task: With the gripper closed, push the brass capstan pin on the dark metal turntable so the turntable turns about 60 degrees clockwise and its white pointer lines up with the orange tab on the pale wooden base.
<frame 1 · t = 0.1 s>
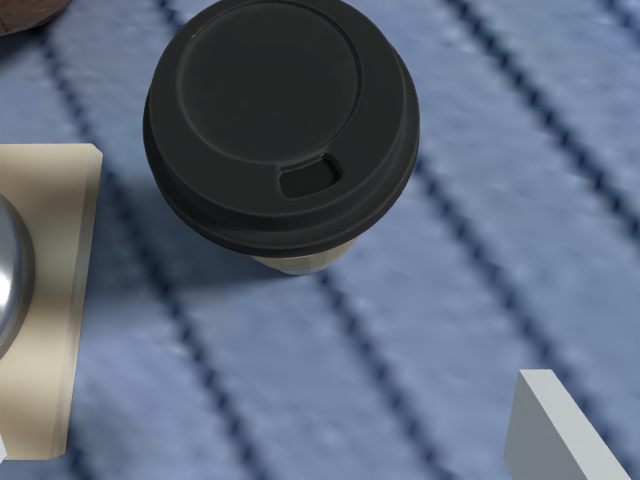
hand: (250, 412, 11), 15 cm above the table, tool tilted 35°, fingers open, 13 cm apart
coffee cup: (302, 228, 29), on the table
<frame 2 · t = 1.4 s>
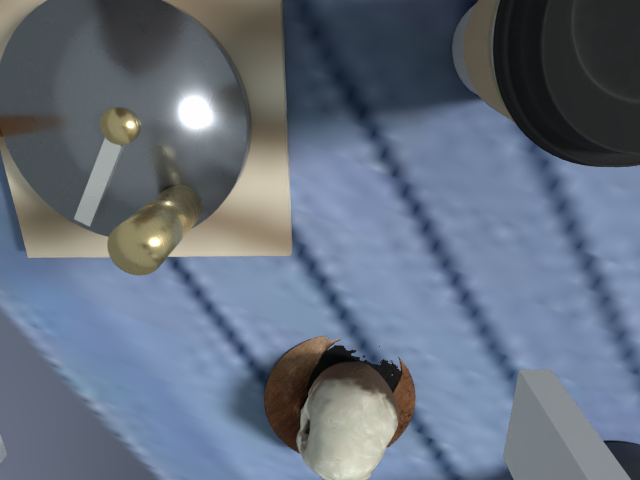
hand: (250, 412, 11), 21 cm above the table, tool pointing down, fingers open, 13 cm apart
base plate: (147, 118, 30), on the table
turntable: (102, 131, 24), point 6 cm above the table, hinge at 0.0°
coffee cup: (498, 44, 28), on the table
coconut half: (339, 395, 38), on the table
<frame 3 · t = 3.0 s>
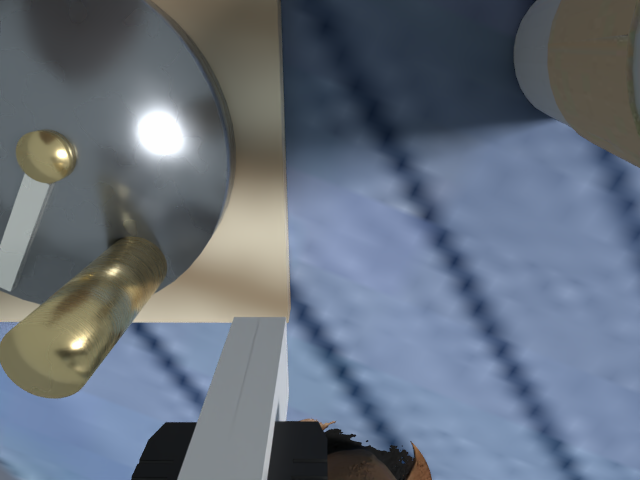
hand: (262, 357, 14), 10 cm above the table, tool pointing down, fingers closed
base plate: (95, 140, 22), on the table
turntable: (10, 168, 16), point 6 cm above the table, hinge at 0.0°
coffee cup: (577, 45, 20), on the table
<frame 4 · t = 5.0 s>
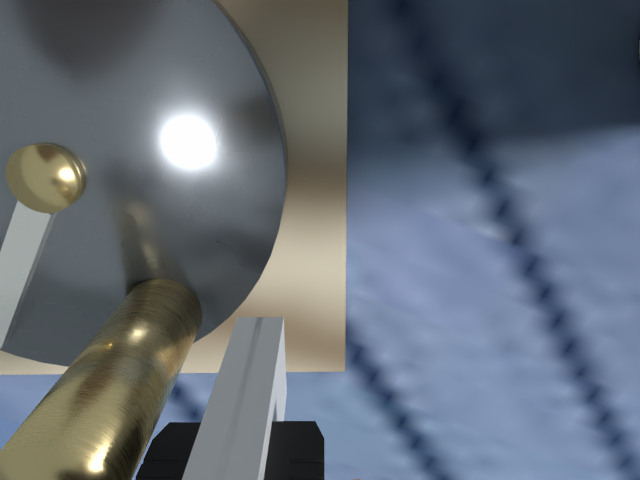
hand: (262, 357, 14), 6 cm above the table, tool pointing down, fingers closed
base plate: (106, 151, 17), on the table
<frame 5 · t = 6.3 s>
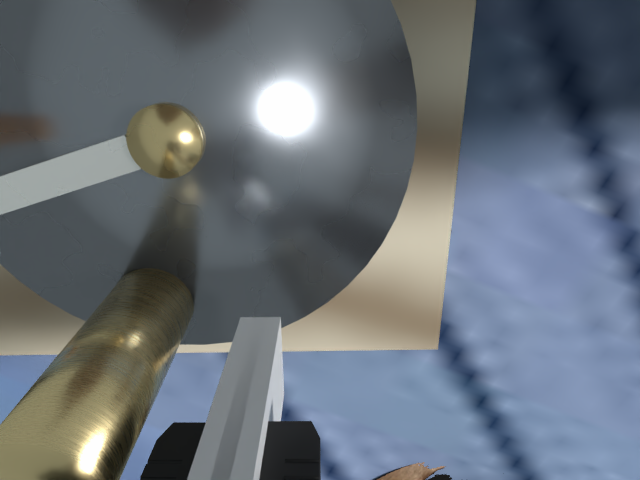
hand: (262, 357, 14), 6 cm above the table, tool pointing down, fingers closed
base plate: (200, 119, 17), on the table
turntable: (139, 158, 11), point 6 cm above the table, hinge at -43.1°, touching gripper
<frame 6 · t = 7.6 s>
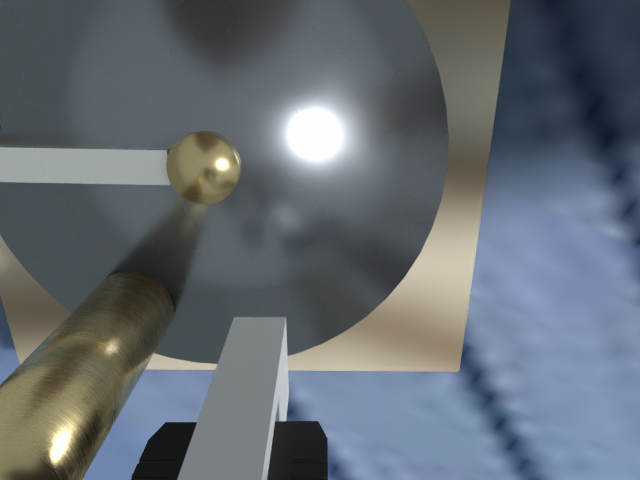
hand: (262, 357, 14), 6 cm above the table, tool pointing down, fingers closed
base plate: (231, 142, 17), on the table
turntable: (182, 188, 11), point 6 cm above the table, hinge at -60.8°
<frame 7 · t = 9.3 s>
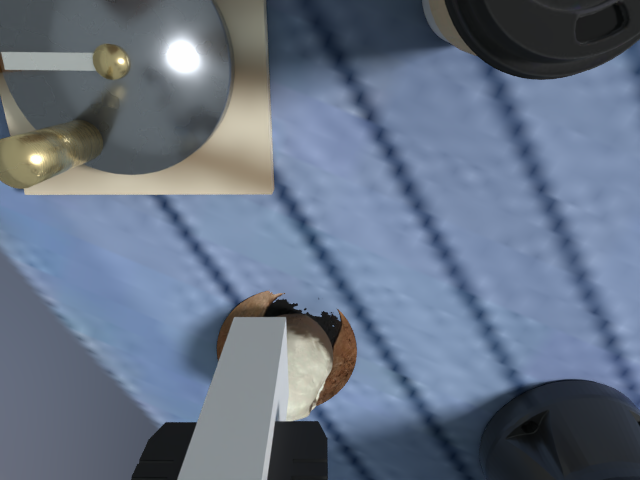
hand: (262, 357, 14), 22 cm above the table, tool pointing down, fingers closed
base plate: (137, 61, 32), on the table
turntable: (94, 62, 26), point 6 cm above the table, hinge at -60.8°
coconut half: (287, 348, 41), on the table
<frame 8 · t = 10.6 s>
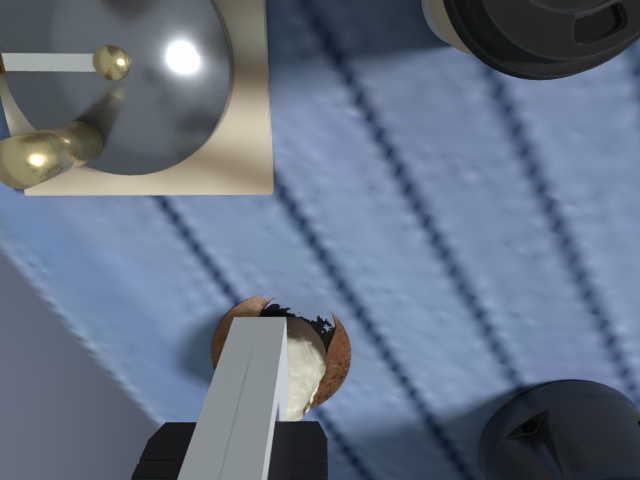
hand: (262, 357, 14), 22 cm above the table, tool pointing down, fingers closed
base plate: (137, 62, 32), on the table
turntable: (94, 63, 26), point 6 cm above the table, hinge at -60.8°
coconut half: (282, 351, 41), on the table
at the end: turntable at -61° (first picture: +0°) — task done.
